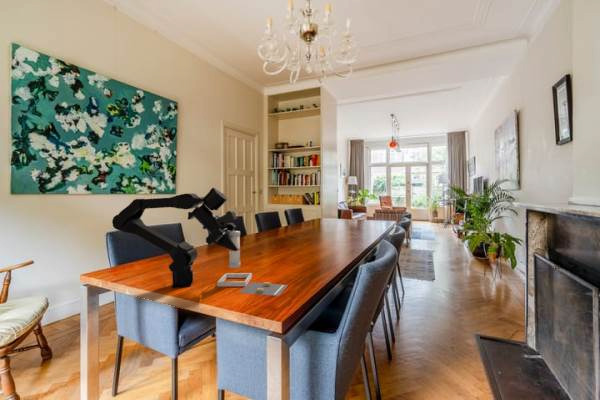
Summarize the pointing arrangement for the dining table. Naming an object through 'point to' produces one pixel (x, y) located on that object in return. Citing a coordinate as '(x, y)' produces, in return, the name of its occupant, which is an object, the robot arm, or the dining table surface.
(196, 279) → the dining table surface
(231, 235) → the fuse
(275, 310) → the dining table surface
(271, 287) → the panel
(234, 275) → the parts tray
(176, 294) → the dining table surface
